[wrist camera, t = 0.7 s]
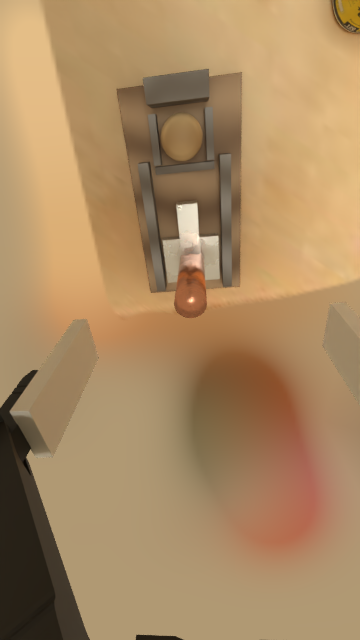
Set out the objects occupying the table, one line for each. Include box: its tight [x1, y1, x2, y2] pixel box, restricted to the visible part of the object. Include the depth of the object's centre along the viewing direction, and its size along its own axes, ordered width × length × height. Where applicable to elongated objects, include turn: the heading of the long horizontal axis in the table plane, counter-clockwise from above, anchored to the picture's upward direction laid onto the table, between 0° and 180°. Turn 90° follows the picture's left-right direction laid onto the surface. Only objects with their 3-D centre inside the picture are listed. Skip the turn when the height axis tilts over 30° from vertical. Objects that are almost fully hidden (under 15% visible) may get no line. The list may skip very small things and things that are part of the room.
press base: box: [117, 69, 242, 293], centre depth 35 cm, size 24×13×6 cm, turn 6°
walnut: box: [161, 112, 202, 161], centre depth 31 cm, size 4×4×4 cm
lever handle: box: [162, 200, 220, 318], centre depth 34 cm, size 10×7×13 cm
